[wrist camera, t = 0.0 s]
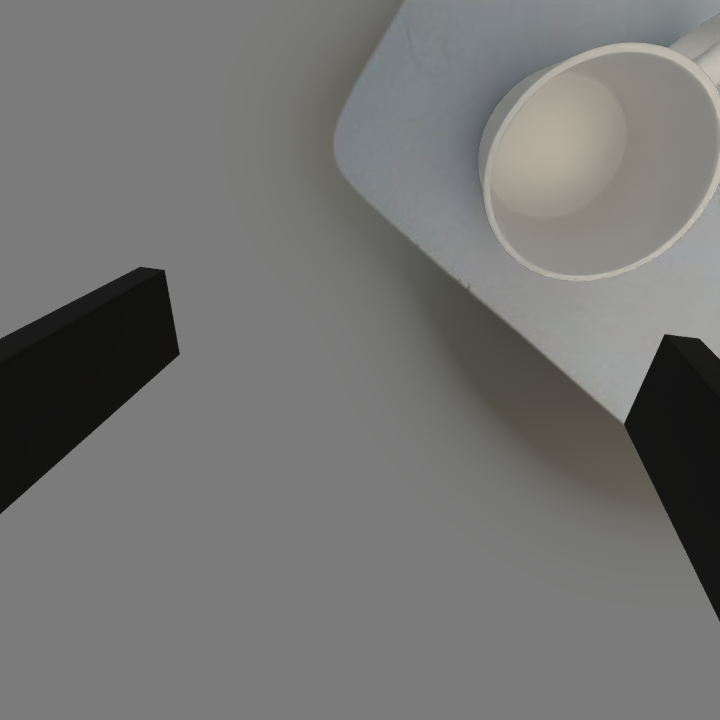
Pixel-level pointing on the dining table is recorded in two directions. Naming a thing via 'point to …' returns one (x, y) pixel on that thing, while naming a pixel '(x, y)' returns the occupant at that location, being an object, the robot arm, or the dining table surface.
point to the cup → (605, 156)
